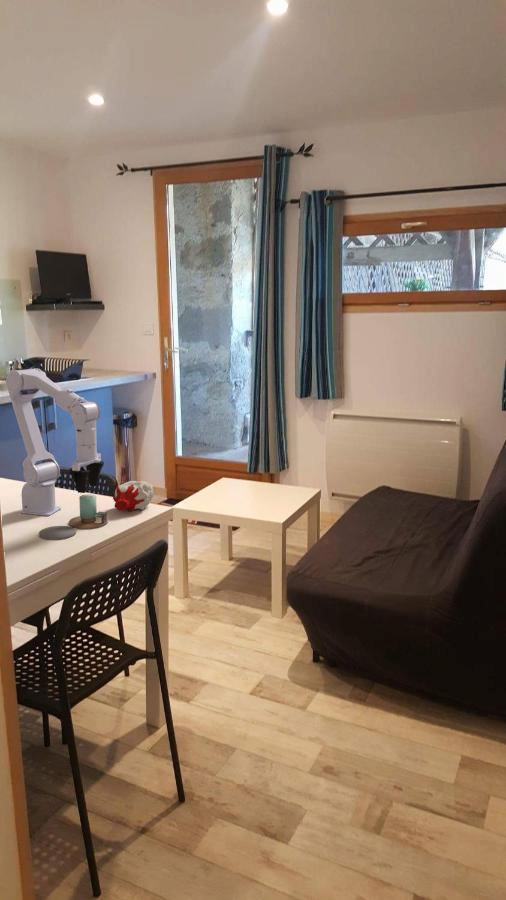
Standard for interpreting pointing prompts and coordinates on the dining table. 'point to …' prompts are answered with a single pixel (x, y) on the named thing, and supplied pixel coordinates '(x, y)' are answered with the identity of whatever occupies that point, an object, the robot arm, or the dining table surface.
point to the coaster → (57, 532)
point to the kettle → (88, 507)
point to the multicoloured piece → (133, 495)
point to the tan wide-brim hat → (89, 522)
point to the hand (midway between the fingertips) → (87, 489)
